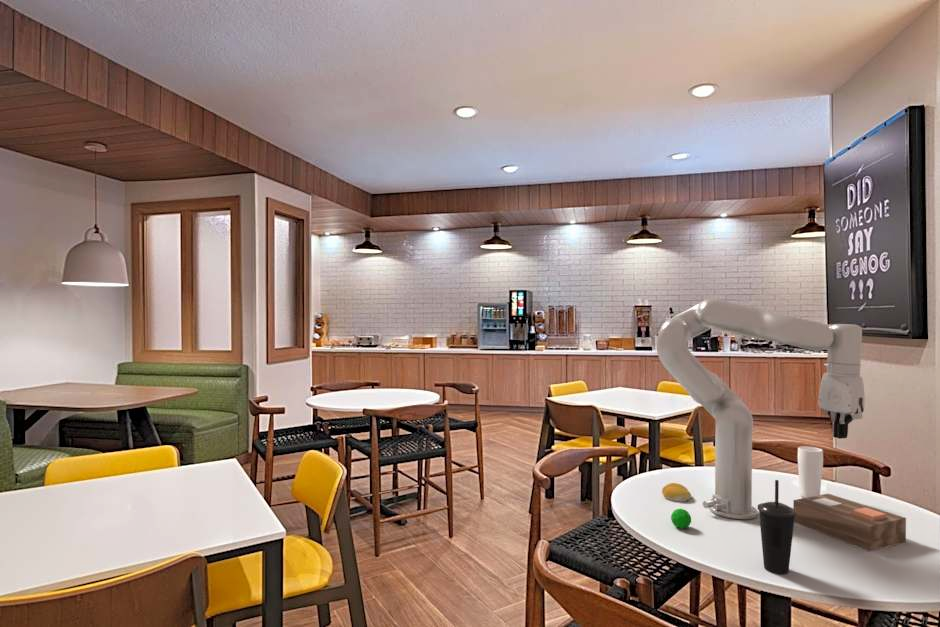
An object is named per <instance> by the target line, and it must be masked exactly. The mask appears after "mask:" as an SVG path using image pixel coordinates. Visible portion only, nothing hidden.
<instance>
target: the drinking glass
mask: <svg viewBox="0 0 940 627" xmlns="http://www.w3.org/2000/svg"><path fill="white" fill-rule="evenodd" d="M797 468H798V480H799V483H798V484H799V496H801V497H802V498H807V497H813V496H818V495H821V489H822V488H821V487H822V485H821V484H822V478H823V477H822V476H823V470H824V450H823V449H822V448H819V447H815V446H806V445H805V446H803V445H801V446H798V447H797Z"/></svg>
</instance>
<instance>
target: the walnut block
mask: <svg viewBox="0 0 940 627" xmlns="http://www.w3.org/2000/svg"><path fill="white" fill-rule="evenodd" d="M820 498H827V499H830V500H833V501H836V502H839V503H842V505H837V506H832V507H829V506H826V505H823V504H820V503H817V502H814V501H812V500H815V499H820ZM865 507H866V508H869V509H872V510H875V511H878V512H882V513H885V514H886V519H883V520H878V521H871V520H868V519H865V518H862V517H859V516H856V515H853V510H855V509H860V508H865ZM792 508H793V509H795V510H796V515H795V519H794V524H795V523H796V525H797V524H798V525H800V526H803V527H805V528H808V529H811V530H813V531H816V532H819V533H821V534H823V535H826V536H828V537H831V538H834V539H837V540H839V541H842V542H845V543H847V544H849V545H853V546H855V547H858V548H860V549H863V550H865V551H868V552H871V551H876V550H880V549H883V548H886V547H891V546H895V545H899V544H902V543H906V541H907V537H906V536H907V518H906V517H904V516H901V515H898V514H895V513H891V512H888V511H885V510H882V509H879V508H875V507H872V506H868V505H866V504H864V503H860V502H856V501H854V500H850V499H846V498H844V497H841V496H837V495H834V494H832V493H824V494H820V495H818V496H813V497H807V498H803V497H802V498H798V499H793V506H792Z"/></svg>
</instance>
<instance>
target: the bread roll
mask: <svg viewBox="0 0 940 627" xmlns="http://www.w3.org/2000/svg"><path fill="white" fill-rule="evenodd" d="M661 493H662V496H663V498H664V497H665V498H666V500H667V499H671V500H675V501H674V502H676V501H684V502H687V500H688V501H690V500H691V498H692V494H691V492H690V491H689V489H688V488H686V486H684V485H683V484H680V483H677V482H671V483H668V484H666V485H664V486H663V487H662V490H661ZM665 498H664V499H665ZM671 500H670V501H671Z"/></svg>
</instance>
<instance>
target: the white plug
mask: <svg viewBox="0 0 940 627" xmlns="http://www.w3.org/2000/svg"><path fill="white" fill-rule="evenodd" d="M812 501H814V502H817V503H820V504H823V505H826V506H829V507H832V506H837V505H842V503H839V502H836V501H833V500H830V499H827V498H820V499H815V500H812Z"/></svg>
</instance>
